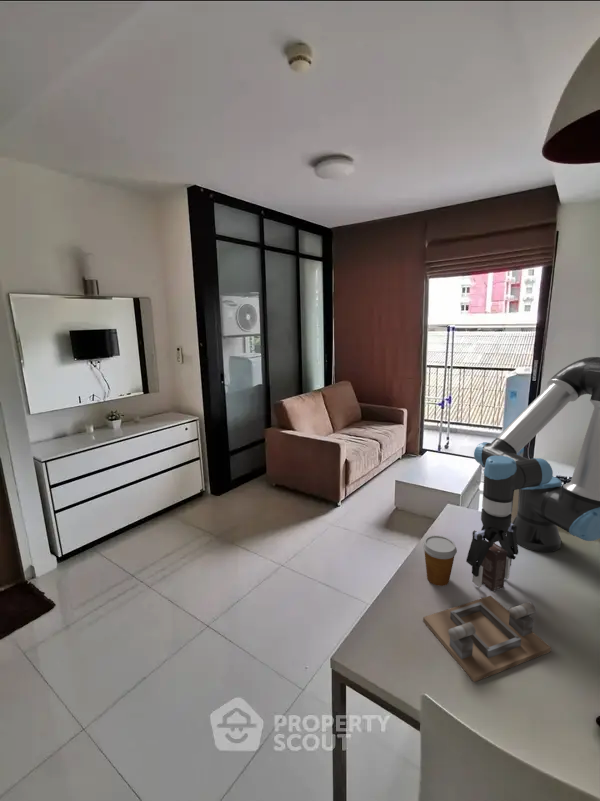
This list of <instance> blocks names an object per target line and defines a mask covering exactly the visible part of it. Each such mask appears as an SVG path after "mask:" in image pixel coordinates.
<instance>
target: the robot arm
mask: <svg viewBox="0 0 600 801" xmlns="http://www.w3.org/2000/svg"><path fill="white" fill-rule="evenodd" d="M583 395H591V396H590V399H589V401H590V403H591V404H592V405H593V411H592V413H591V417H590V420H589V423H588V427H587V429H586V433H585V435H584V437H583V438H584V439H583V441H582V445H581V449H580V451H579V454H578V457H577V461H576V464H575V467H574V470H573V473H572V476H571V480H570V481H569V482H567V483H565V484H563V482H562V480H561V479H559V478H558V477H555V476H554V471H553V468H552V466H551V464H550V463H549V462H548V461H547V460H545V459H544V458H542V457H541V458H540V457H537V458H536V457H532V458H526V457H524V456H522V455H519V453H520V452H521V450H522V449H523V448H525V447H526V446H527V445H528V444H529V443H530V442H531V441H532V440H533V439H534V438H535V436H537V435H538V434H539V433H540V432H541V431H542V430H543V429H544V428H545V426H546V427H547V425H548V424H549V423H550V421H552V420H553V419H554V418H555V417H556V416H557V415H558V414H559V413H560V411H562V410H563V409H564V407H567V405H568V404H569V403H570V402H575V401H577V400H578V399H579V398H580V397H581V396H583ZM473 457H474V460H475V462H477V463H478V464H479V465H481V466H482V467H484V470H483V488H482V489H483V490H482V491H483V492H482V504H481V507H482V508H481V516H480V520H481V523H482V527H481V530H478V531H477V530H473V531H472V533H471V534H472V539H471V543H470V546H469V549H468V553H467V557H466V563H467V564H469V565H470V566H471V574H472V583H473V584H474V585H475V586H476V587H478V588H482V587H483V586H482V584H483V583H482V574H483V567H482V566H481V564H482V562H483V560H484V558H485V556H486V554H487V552H488V550H489V548H490V547H492V546H493V544H494V543H495V544H496V542H498V543H499V546H500V547H502V548H503V549H505V550H506V551H507V558H506V568H505V579H506V580H509V579H510V570H511V566H512V560H516V558H517V555H519V546H521V547H522V548H526V549H528V550H531V551H536V552H540V553H551V552H552V553H553V552H556V551H558V550H559V549H560V548H561V543H562V539H561V536H560V533H559V532H560V531H559V528H560V529H561V530H564V531H566V532H567V533H569V534H570V535H572V536H574V537H577V538H579V539H580V540H582V541H586V542H591V541H592V542H593V541H597V540H600V357H599V356H590V357H584V358H581V359H578V360H576V361H573V362H572V363H570V364H567V365H566V366H564V367H563V368H562V369H561V370H559V371H557V373H555V374H554V375H553V376H552V377H551V378H550V379H549V380H548V381H547V384H546V387H545V389H543V391H542V392H540V393H539V395H538V396H536V398H535V399H534V400H532V401H531V403H530V404H528V406H526V408H525V409H524V410H522V411H521V413H520V414H519V415H518V416H517V417H516V418H514V419H513V421H512V422H510V424H509V425H507V427H506V428H505V429H504V430H502V431H501V433H499V435H497V437H496V438H495V439H493V440H492V441H491V442H481V443H479V444H477V446H476V447H475V449H474V451H473ZM515 490H516V491H517V490H518V498H517V500H518V501H517V511H516V512H517V514H516V516H515V518H514V520H513V522H512V517H513V516H512V513H513V506H514V496H515V495H514V493H515ZM487 541H489V542H487ZM518 545H519V546H518Z"/></svg>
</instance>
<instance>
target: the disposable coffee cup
mask: <svg viewBox="0 0 600 801" xmlns="http://www.w3.org/2000/svg"><path fill="white" fill-rule="evenodd" d="M422 548H423V552H424V560H425V568H426V571H425V572H426V579H427V580H428V582H429V583H430V584H432V585H434V586H437V587H438V586H439V587H445V586H447V585H449V583H450V578H451V576H452V575H451V574H452V570H453V564H454V561H455V560H454V559H455V556H456V554H457V553H458V552H457V551H458V549H457V547H456V544H455V542H454V541H453V540H452V539H451V538H448V537H446V536H443V535H435V534H434V535H430V536H427V537H425V539H424V540H423V543H422Z"/></svg>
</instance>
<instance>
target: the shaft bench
mask: <svg viewBox="0 0 600 801" xmlns="http://www.w3.org/2000/svg"><path fill="white" fill-rule="evenodd" d="M535 612H536V608H535V606H534V604H533V603H531V602H529V601H528V602H525V603H522V604H519V605H516V606H513V607H510V608H509V609H507V608H506V607H505V606H503V605H502V604H501V603H500V602H499V601H498V600H496V598H494V597H493V596H492V595H488V596H485V597H481V598H479V599H475V600H473V601H470V602H466V603H464V604H463V603H462V604H460V605H458V606H454V607H451V608H448V609H444V610H442V611H441V610H440V611H439V612H435V613H432V614H429V615H426V616H423V617H422V621H423V623H424V624H425V626H427V627H428V629H429V630H430V631H431V632H432V634H434V636H435V637H436V638H437V639H438V641H439V642H440V643H441V644H442V645H443V647H445V649H446V650H447V651H448V653H449V654H450V655H451V656H452V657H453V659H454V660H455V661H456V662H457V663H458V665H459V666H461V668H462V669H463V671H464V673H466V675H468V676H469V678H470V679H471V680H472V681H473V682H474V683H476V682H478V681H481V680H483V679H485V678H489V677H492V676H493V675H496V674H498V673H501V672H503V671H506V670H509V669H511V668H513V667H514V668H515V667H516V666H518V665H520V664H523V663H526V662H528V661H531V660H533V659H537V658H538V657H541V656H543V655H546V654H548V653H550V652H552V650H551V649H552V647H551V646H550V645H549V644H548V643H546V641H544V640H543V639H542V638H541V637H539V635H537V634H536V633H535V632H534V631H533V628H534V618H533V617H532V616H530V615H531V614H534V613H535Z"/></svg>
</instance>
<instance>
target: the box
mask: <svg viewBox="0 0 600 801" xmlns="http://www.w3.org/2000/svg"><path fill="white" fill-rule="evenodd" d="M486 541H487V542H489V541H488V540H486ZM506 558H507V551H506V550H505V549H503V548H502V547H501V545H498V544H497V543H496V542H495V543H494V544H493V546H492V547H490V548H489V550H488V552H487V554H486V556H485V558H484V560H483V562H482V564H481V566H482V567H483V574H482V584H484V586H486V587H487V588H488V589H490V590H491V591H492V592H496V591H499V590H502V589H504V586H505V579H506V578H505V568H506Z"/></svg>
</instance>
